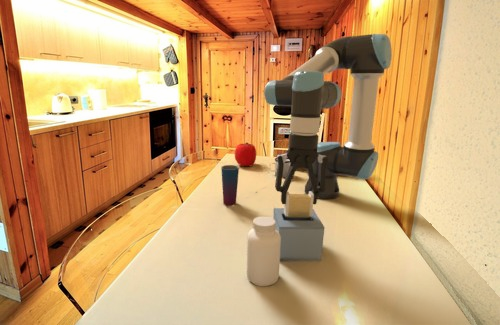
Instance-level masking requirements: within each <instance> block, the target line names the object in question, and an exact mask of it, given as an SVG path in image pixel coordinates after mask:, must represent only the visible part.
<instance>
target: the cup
mask: <svg viewBox="0 0 500 325" xmlns="http://www.w3.org/2000/svg"><path fill="white" fill-rule="evenodd" d="M239 172H240V166H238V165H234V164H224V165H223V166H221V184H222V186H221V187H222V200H223V205H224V206H229V207H230V206H234V205H235V206H236V205H237V193H238V184H239V182H238V181H239V174H240V173H239Z"/></svg>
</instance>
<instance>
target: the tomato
mask: <svg viewBox="0 0 500 325" xmlns="http://www.w3.org/2000/svg"><path fill="white" fill-rule="evenodd" d="M234 159H235V161H236V162H237V164H238V165H239V166H242V167H251V166H253V165H254V164H255V162H256V159H257V150H256V146H255V145H254V144H252V143H248V142H245V143H239V144H237V145H236V147H235V149H234Z"/></svg>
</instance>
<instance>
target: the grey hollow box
mask: <svg viewBox="0 0 500 325" xmlns="http://www.w3.org/2000/svg"><path fill="white" fill-rule="evenodd" d="M272 218H273V219H274V220H275V221H276V230H277V231H278V232H279V234H280V236H281V245H280V261H281V262H283V261H288V262H289V261H293V262H294V261H295V262H297V261H300V262H301V261H302V262H305V261H306V262H307V261H309V262H310V261H311V262H315V261H316V262H318V261H319V262H321V261H322V254H323V246H324V236H325V226H324V224H323V222H322V221H321V219H320V217H319V216H318V214H317V213H316V211H315V209H314V208H313V210H312V217H309V218H306V217H287V216H285V214H284V207H282V208H281V207H280V208H279V207H277V208H276V207H274V208H273V215H272Z"/></svg>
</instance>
